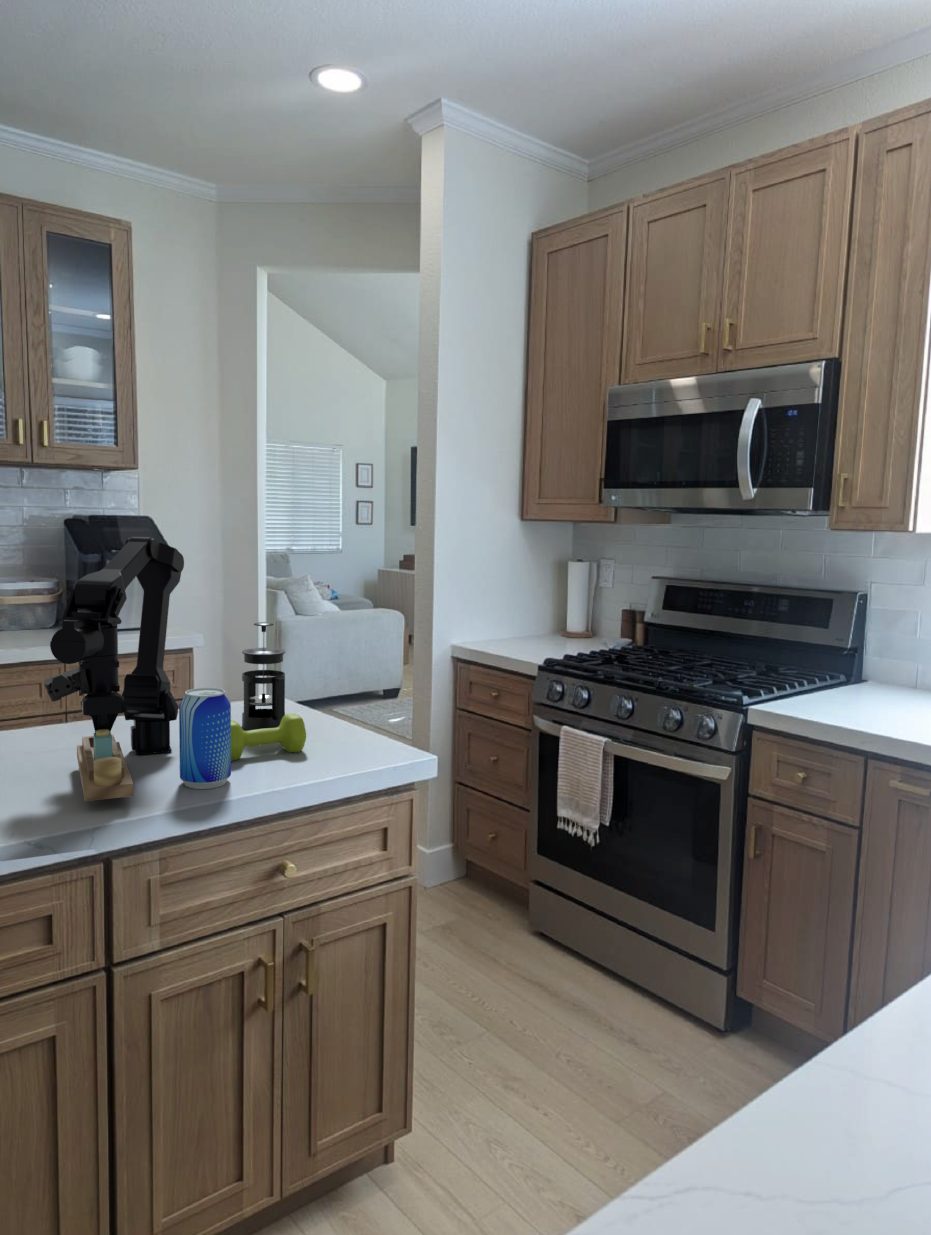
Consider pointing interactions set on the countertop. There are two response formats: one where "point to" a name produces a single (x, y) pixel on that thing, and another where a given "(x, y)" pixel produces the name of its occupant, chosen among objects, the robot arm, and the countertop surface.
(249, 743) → the dumbbell
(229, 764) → the beer can
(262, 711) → the french press
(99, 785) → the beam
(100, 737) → the block
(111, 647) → the robot arm
